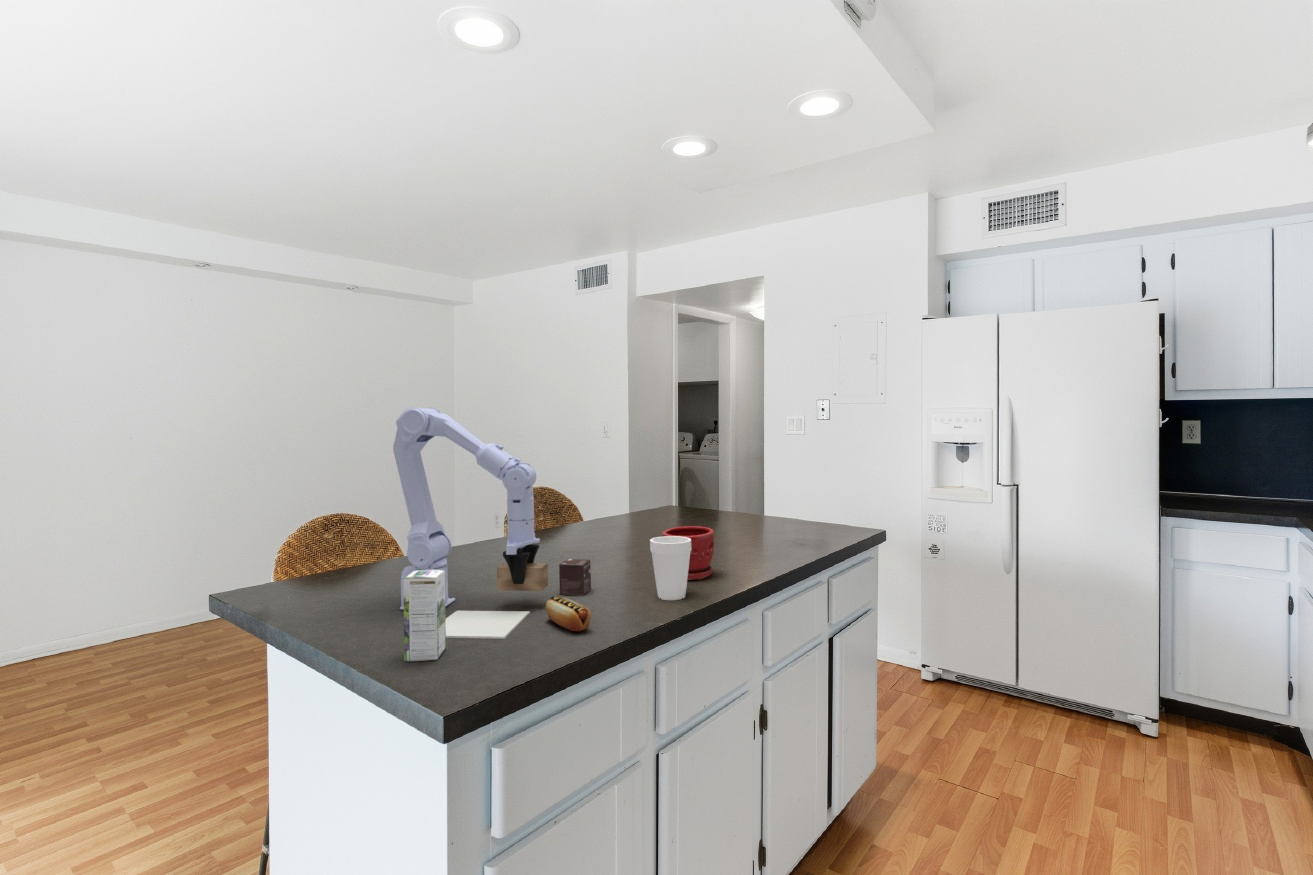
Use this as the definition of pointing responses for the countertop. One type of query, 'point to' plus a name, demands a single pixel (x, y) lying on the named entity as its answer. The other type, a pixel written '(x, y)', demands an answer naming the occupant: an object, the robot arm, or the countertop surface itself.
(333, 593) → the countertop surface
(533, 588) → the wooden block
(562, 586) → the box
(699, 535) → the plant pot
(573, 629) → the hot dog
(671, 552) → the foam cup
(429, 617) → the syrup box
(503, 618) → the mat
